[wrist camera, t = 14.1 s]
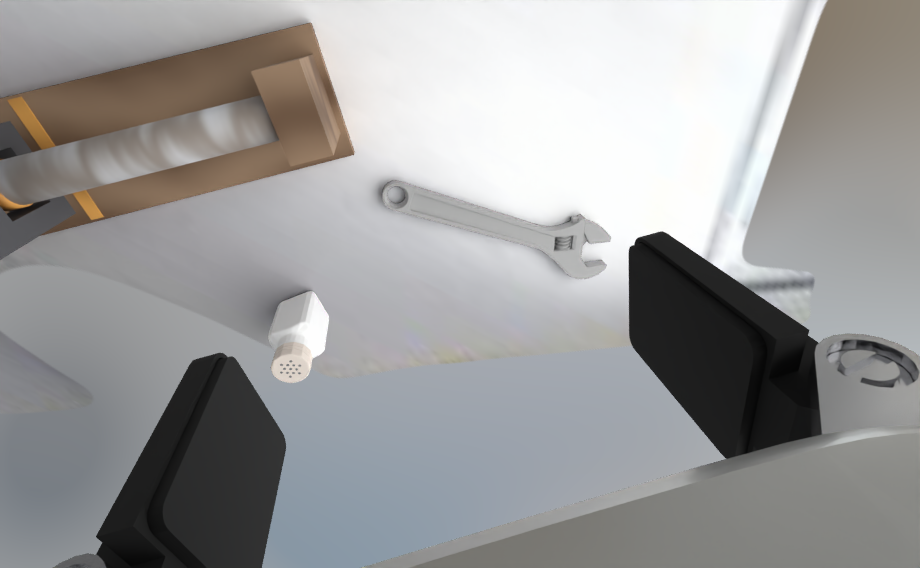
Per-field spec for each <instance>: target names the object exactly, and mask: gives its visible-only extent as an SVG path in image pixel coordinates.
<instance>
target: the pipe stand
mask: <svg viewBox="0 0 920 568" xmlns="http://www.w3.org/2000/svg"><path fill="white" fill-rule="evenodd" d="M7 121H10V122H11V123H12V124H13V126H14V127H15V129H16V130H17V131H18V133H19V134H20V136H21V137H22V138H23V140H24V141H25V142H26V144H27V145H28V147H29V148H30V149H31V151H32V152H31V153H27V154H23V155H19V156H15V157H11V158H7V159H0V207H1V208H2V209H3V210H4V212H5V213H6V214H7V213H9V211H11V210H15V209H19V208H23V207H27V206H30V205H32V204H33V203H36V202H40V201H44V200H48V199H52V198H56V197H60V196H64V197H65V198H66V200H67V201H68V202H69V204H70V205H71V207H72V208H73V209H74V211H75V212H76V214H74V215H72V216H71V217H69V218H67V219H66V220H64V221H63V222H61V223H59V224H58V225H56V226H54V227H53V228H51V229H50V230H48V231H46V232H45V233H43V234H41V235H45V234H49V233H53V232H57V231H61V230H64V229H68V228H72V227H76V226H80V225H84V224H88V223H92V222H95V221H99V220H103V219H107V218H111V217H115V216H119V215H122V214H126V213H130V212H134V211H138V210H142V209H146V208H150V207H153V206H157V205H161V204H165V203H169V202H173V201H177V200H181V199H184V198H188V197H192V196H196V195H200V194H204V193H208V192H212V191H215V190H219V189H223V188H227V187H231V186H235V185H239V184H243V183H246V182H250V181H254V180H258V179H262V178H266V177H270V176H273V175H277V174H281V173H285V172H289V171H293V170H297V169H301V168H304V167H308V166H312V165H316V164H320V163H324V162H328V161H332V160H335V159H339V158H343V157H347V156H351V155H354V149H353V146H352V143H351V140H350V137H349V134H348V131H347V128H346V125H345V122H344V119H343V116H342V113H341V110H340V107H339V104H338V101H337V98H336V95H335V92H334V89H333V86H332V83H331V80H330V77H329V74H328V71H327V68H326V65H325V62H324V59H323V56H322V53H321V50H320V47H319V44H318V41H317V38H316V35H315V32H314V29H313V26H312V23H308V24H303V25H299V26H295V27H291V28H287V29H283V30H279V31H275V32H271V33H266V34H262V35H258V36H254V37H250V38H246V39H242V40H238V41H234V42H230V43H225V44H221V45H217V46H213V47H209V48H205V49H201V50H197V51H193V52H189V53H184V54H180V55H176V56H172V57H168V58H164V59H160V60H156V61H152V62H147V63H143V64H139V65H135V66H131V67H127V68H123V69H119V70H115V71H111V72H106V73H102V74H98V75H94V76H90V77H86V78H82V79H78V80H74V81H69V82H65V83H61V84H57V85H53V86H49V87H45V88H41V89H37V90H33V91H28V92H24V93H20V94H16V95H12V96H8V97H4V98H0V123H3V122H7ZM41 235H40V236H41Z"/></svg>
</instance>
